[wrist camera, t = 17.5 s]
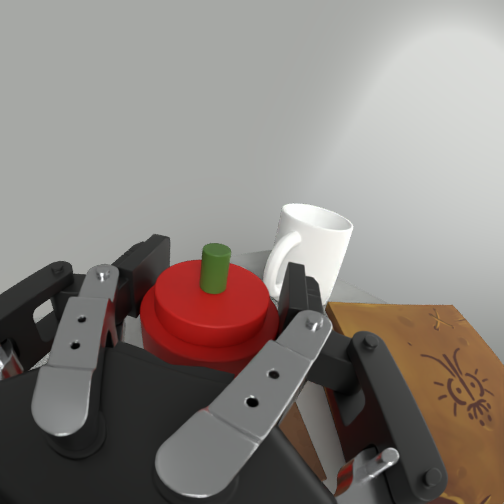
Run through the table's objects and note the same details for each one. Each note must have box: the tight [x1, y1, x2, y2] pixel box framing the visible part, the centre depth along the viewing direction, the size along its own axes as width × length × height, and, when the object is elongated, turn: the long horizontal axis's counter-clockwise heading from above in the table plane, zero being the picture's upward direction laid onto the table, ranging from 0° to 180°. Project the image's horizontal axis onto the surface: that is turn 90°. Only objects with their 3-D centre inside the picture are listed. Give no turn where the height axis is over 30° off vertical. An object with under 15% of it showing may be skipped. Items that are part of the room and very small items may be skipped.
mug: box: [263, 204, 353, 306], centre depth 30 cm, size 12×8×10 cm
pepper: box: [140, 243, 279, 379], centre depth 12 cm, size 6×6×12 cm
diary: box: [323, 302, 504, 504], centre depth 15 cm, size 23×19×6 cm
